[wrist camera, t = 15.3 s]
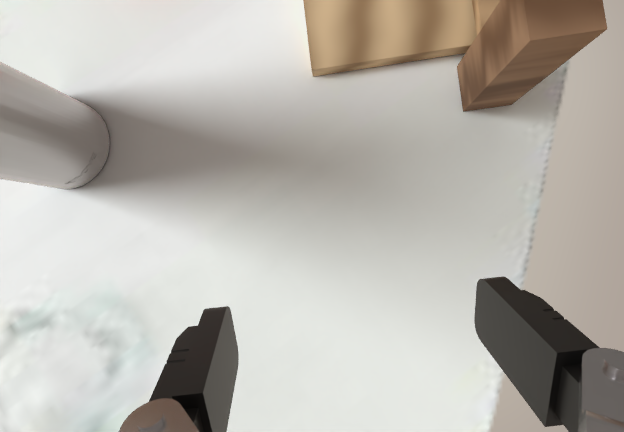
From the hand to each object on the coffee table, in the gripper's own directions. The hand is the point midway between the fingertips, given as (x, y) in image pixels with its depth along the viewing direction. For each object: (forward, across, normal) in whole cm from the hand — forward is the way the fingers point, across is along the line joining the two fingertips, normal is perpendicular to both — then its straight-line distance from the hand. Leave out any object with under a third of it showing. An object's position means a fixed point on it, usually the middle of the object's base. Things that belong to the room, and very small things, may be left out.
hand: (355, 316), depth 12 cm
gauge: (+28, -17, -10) cm, 35 cm away
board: (+30, -12, -13) cm, 35 cm away
